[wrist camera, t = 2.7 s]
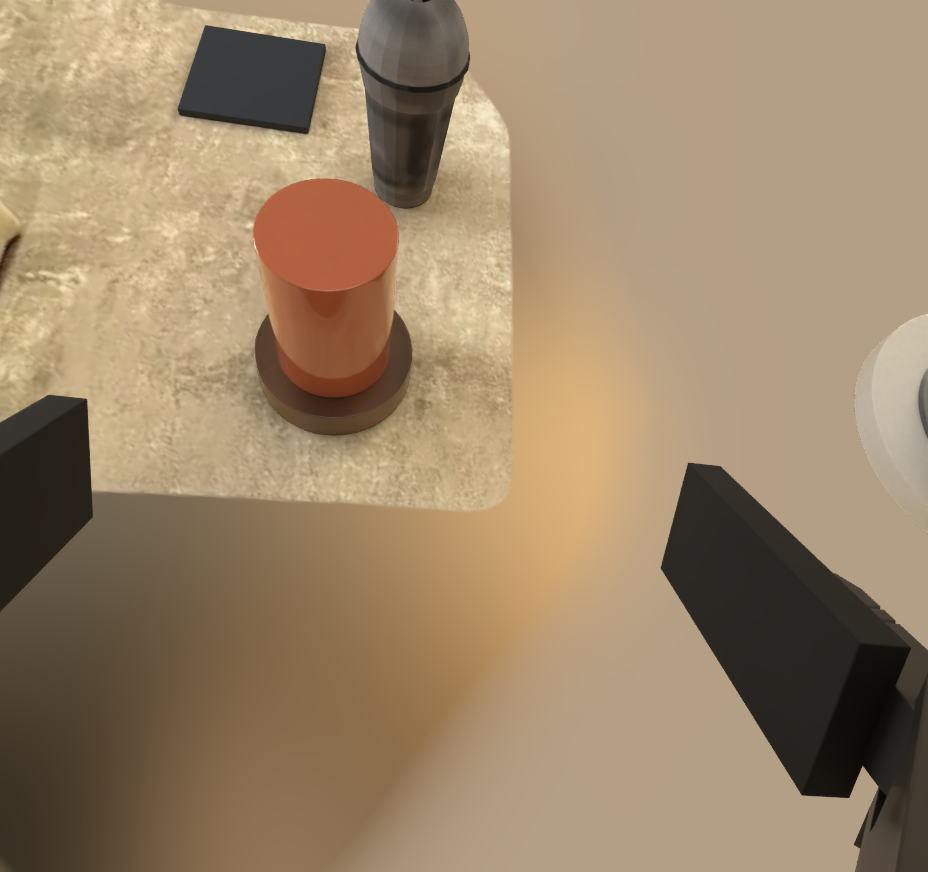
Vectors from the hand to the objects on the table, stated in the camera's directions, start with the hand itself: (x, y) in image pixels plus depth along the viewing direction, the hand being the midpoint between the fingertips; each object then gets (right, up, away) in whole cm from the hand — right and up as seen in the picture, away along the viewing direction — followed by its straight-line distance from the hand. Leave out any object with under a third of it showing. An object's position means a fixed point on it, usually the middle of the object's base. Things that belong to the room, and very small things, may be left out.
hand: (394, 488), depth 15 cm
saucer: (-7, +6, +32) cm, 33 cm away
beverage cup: (-3, +21, +39) cm, 45 cm away
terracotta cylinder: (-7, +7, +29) cm, 31 cm away
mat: (-16, +30, +42) cm, 54 cm away
